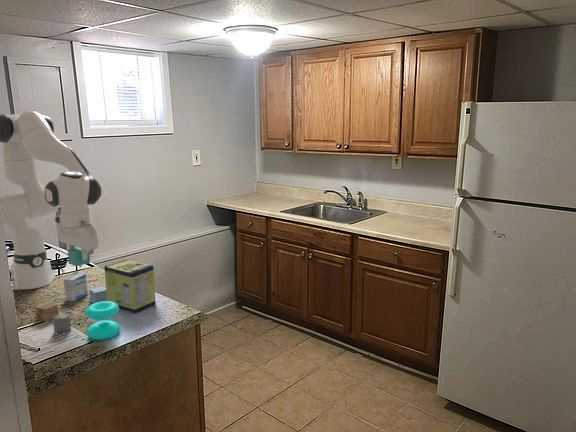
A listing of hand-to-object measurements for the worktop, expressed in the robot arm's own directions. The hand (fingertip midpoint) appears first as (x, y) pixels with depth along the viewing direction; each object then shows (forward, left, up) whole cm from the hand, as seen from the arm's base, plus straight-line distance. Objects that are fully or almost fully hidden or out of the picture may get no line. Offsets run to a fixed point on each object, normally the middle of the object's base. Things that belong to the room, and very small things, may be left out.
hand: (79, 257), depth 160 cm
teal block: (0, 0, -2) cm, 2 cm away
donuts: (+19, -4, -22) cm, 29 cm away
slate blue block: (-8, +11, -22) cm, 26 cm away
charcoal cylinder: (+6, -11, -22) cm, 25 cm away
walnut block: (-8, -9, -22) cm, 25 cm away
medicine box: (-19, +8, -22) cm, 30 cm away
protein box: (+5, +17, -22) cm, 28 cm away
